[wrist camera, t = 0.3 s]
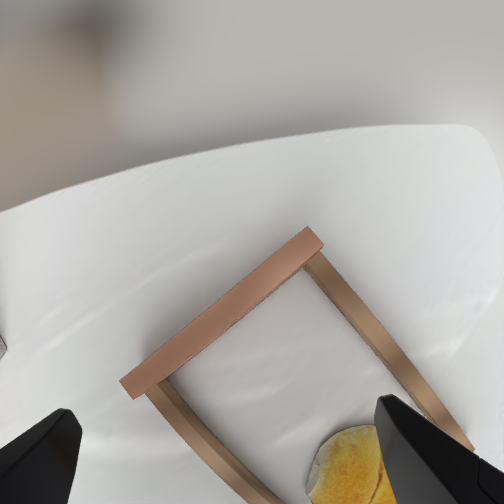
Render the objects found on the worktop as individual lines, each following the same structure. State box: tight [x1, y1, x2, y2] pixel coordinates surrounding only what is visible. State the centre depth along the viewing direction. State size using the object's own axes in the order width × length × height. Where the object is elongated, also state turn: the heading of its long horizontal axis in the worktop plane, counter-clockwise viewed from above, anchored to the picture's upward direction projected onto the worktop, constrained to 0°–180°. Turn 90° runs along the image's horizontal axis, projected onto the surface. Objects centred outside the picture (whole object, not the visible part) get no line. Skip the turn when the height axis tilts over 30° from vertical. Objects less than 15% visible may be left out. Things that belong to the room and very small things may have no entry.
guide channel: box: [119, 226, 475, 504], centre depth 19 cm, size 22×15×4 cm
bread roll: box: [306, 425, 397, 504], centre depth 18 cm, size 8×9×4 cm
